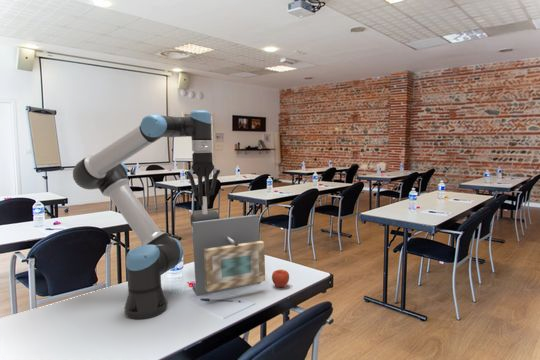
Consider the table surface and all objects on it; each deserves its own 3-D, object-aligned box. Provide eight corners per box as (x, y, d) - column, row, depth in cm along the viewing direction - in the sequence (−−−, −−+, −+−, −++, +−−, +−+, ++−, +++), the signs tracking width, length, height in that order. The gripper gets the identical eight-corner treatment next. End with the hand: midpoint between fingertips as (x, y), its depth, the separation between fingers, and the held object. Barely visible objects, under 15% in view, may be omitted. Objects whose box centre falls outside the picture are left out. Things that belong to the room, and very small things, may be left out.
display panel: (201, 302, 142) (197, 226, 139) (192, 288, 156) (189, 219, 153) (267, 288, 153) (264, 218, 150) (253, 276, 167) (251, 212, 164)
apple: (285, 282, 160) (285, 264, 159) (292, 288, 153) (291, 270, 152) (269, 284, 158) (269, 266, 157) (275, 291, 151) (274, 272, 150)
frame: (208, 292, 139) (205, 247, 137) (205, 289, 142) (203, 244, 140) (265, 281, 149) (264, 239, 147) (262, 278, 152) (261, 236, 150)
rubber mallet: (197, 279, 167) (194, 214, 163) (192, 274, 173) (189, 211, 170) (222, 273, 173) (220, 211, 169) (217, 268, 179) (214, 208, 176)
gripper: (186, 152, 132) (189, 217, 135) (221, 151, 137) (223, 213, 140) (183, 152, 139) (186, 213, 142) (216, 151, 144) (218, 210, 146)
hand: (204, 213), depth 141 cm, fingers closed
